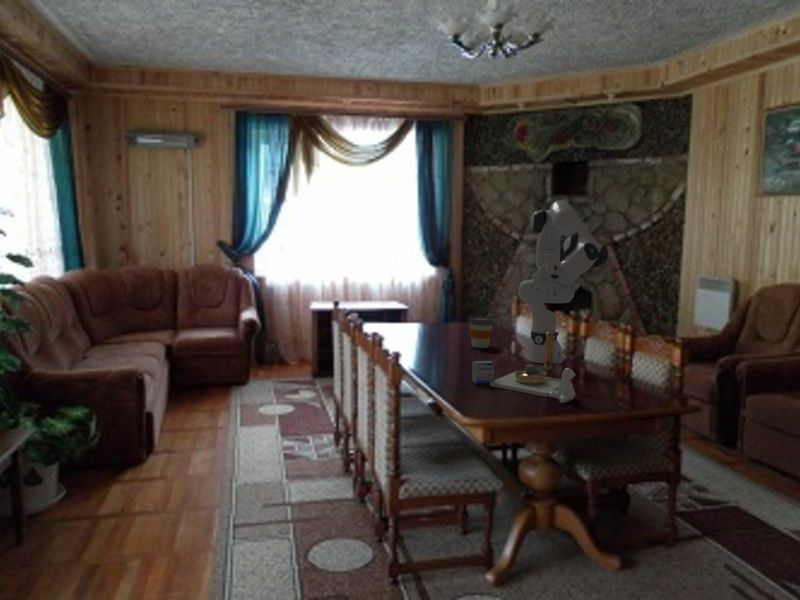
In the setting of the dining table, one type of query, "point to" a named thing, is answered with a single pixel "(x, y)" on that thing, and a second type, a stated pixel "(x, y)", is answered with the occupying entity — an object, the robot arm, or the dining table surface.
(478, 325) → the reusable coffee cup
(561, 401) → the seated beast figurine
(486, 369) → the medicine box
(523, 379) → the brass disc with post
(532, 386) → the white rectangular board
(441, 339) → the dining table surface
